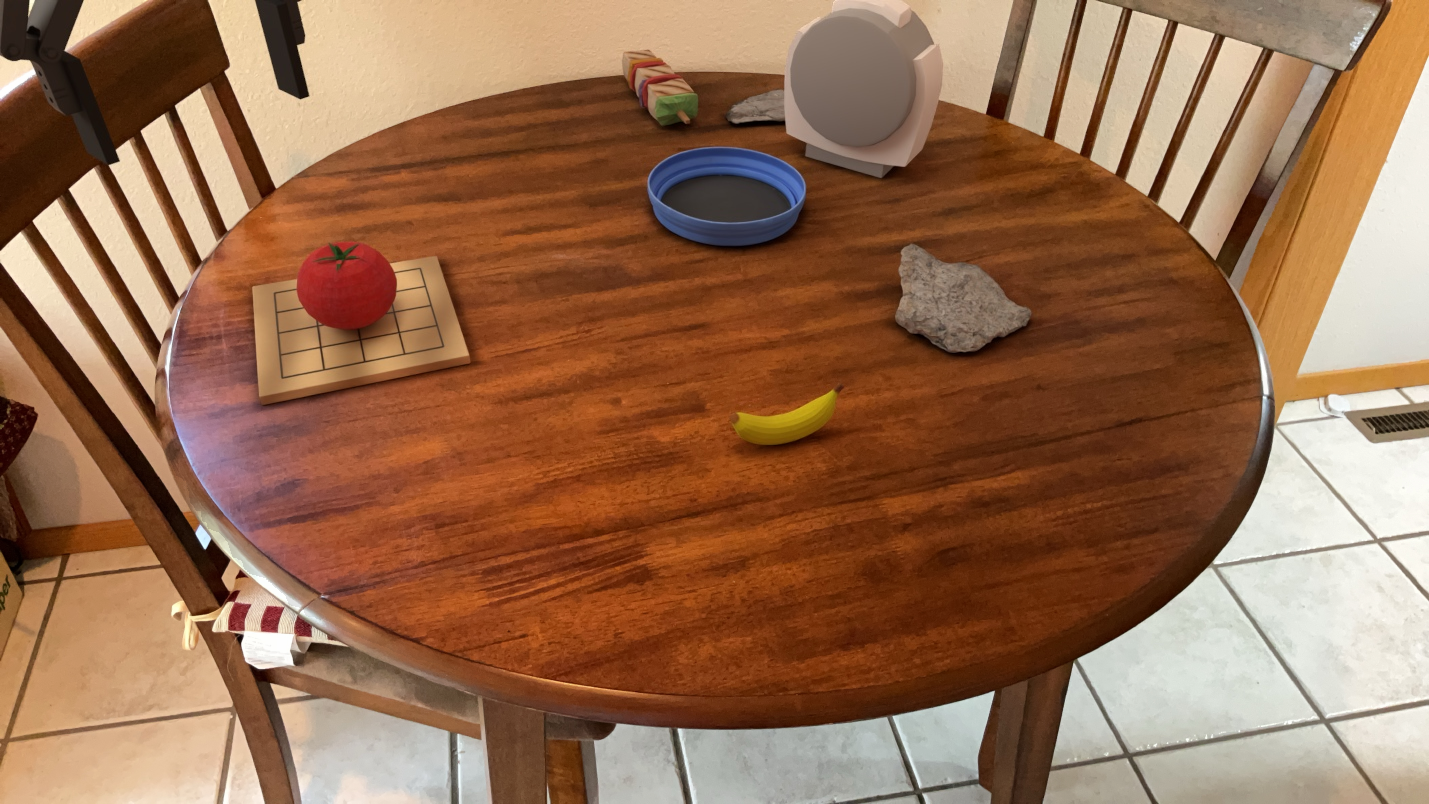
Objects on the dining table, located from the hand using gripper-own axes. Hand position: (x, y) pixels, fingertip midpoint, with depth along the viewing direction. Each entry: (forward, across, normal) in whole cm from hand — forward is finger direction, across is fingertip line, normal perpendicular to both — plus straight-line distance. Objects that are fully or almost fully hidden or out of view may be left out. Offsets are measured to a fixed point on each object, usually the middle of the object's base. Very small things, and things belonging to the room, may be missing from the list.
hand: (205, 123), depth 66 cm
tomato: (+26, +11, +8) cm, 29 cm away
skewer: (+27, +69, +19) cm, 76 cm away
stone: (+27, +81, +5) cm, 86 cm away
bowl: (+27, +53, -5) cm, 59 cm away
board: (+27, +11, +7) cm, 30 cm away
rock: (+27, +52, -34) cm, 68 cm away
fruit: (+27, +25, -33) cm, 49 cm away
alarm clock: (+27, +73, -9) cm, 79 cm away
